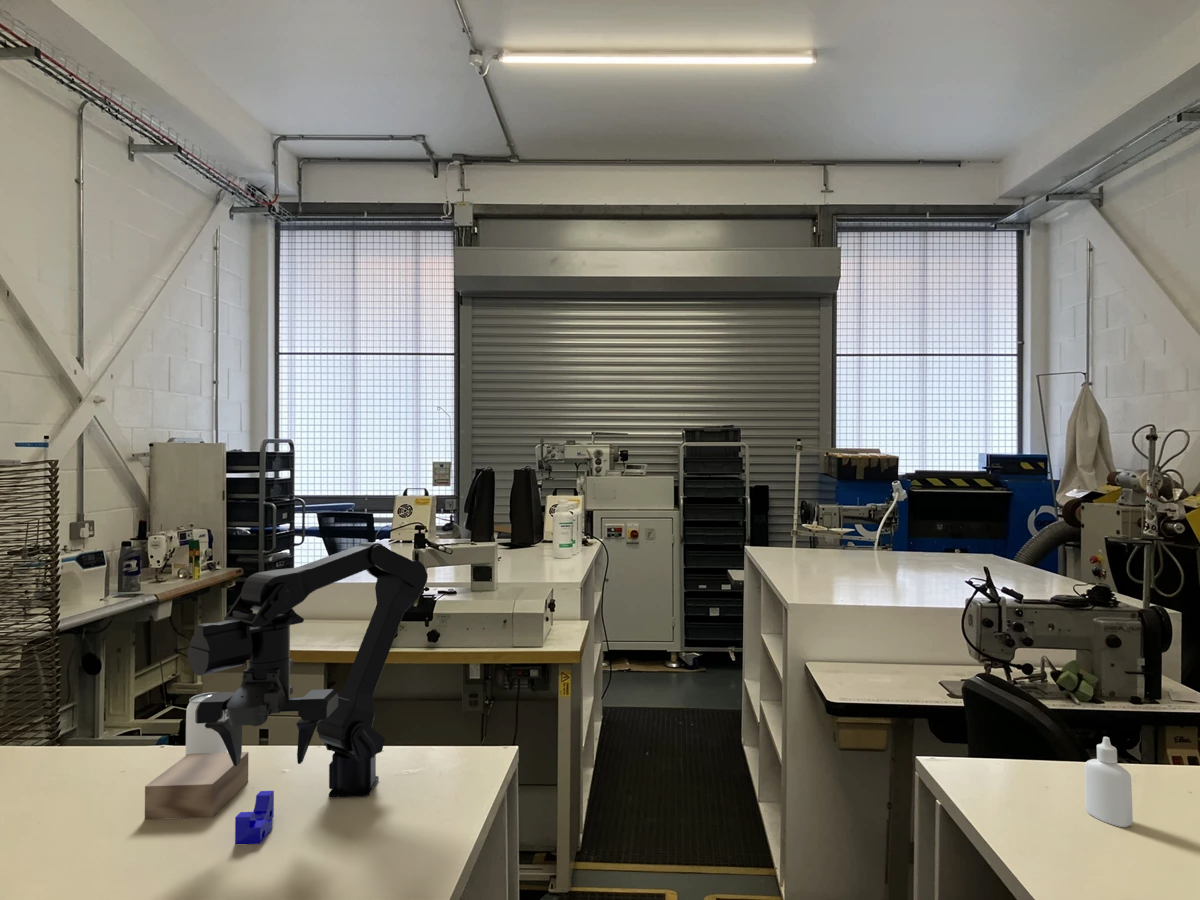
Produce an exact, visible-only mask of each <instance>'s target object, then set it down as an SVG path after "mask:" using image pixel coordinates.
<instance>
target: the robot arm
mask: <svg viewBox="0 0 1200 900" xmlns="http://www.w3.org/2000/svg"><path fill="white" fill-rule="evenodd" d="M363 571H366V572H367V573H368V574H370V576H372V577H374V578H376V582H375V587H374V588H375V597H376V598H375V599H376V606H375V608H374V610H373V613H372V616H371V618H370V621H369V624H368V626H367V629H366V630H365V634H364V636H363V638H362V641H361V643H360V646H359V649H358V651H357V654H356V657H355V659H354V661H353V664H352V666H351V669H350V671H349V673H348V676H347V679H346V682H345V683H344V686H343V687H342V689H340V690H339V691H338V692H336V690H335V689H334V688H329V689H323V688H322V689H311V690H309V692H307V693H306V694H305V695H304V696H302V697H291V695H292V694H293V693H294V687H293V685H291V668H292V667H293V666H294V659H292V658H291V626H294V625H298V624H303V623H304V622H305V618H304V617H302V616H301V615H299V614H298V613H296V611H295V610H294V609H293V608H295V607H296V606H298V605H300V604H301V603H303V602H304V601H305V600H306V599H307V598H308V596H309V595H310V594H312V593H314V592H315V591H317V590H319V589H322V588H324V587H327V586H329V585H331V584H334V583H338V582H339V581H341V580H345V579H347V578H349V577H351V576H354V575H356V574H359V573H361V572H363ZM428 575H429V574H428V572H427V570H426V567H425V565H424V564H423V563H422V562H420V561H418V560H413V559H412V560H411V559H409V558H408V557H405V556H403V555H401V554H400V553H397V552H395V551H392V550H391V549H389V548H388V547H386V546H385V545H383V544H382V543H379V542H371V541H370V542H368V541H364V542H363V541H362V542H360V543H358V544H357V545H355V546H353V547H350V548H347V549H344V550H342V551H339V552H336V553H334V554H331V555H328V556H326V557H323V558H320V559H316V560H314V561H312V562H309V563H307V564H303V565H301V566H295V567H291V568H289V567H288V568H280V569H279V568H278V569H271V570H267V571H259V572H255V573H253V574H251V575H249V576H248V577H247V578H245V581H244V583H243V585H242V588H241V591H240V594H239V595H238V597H237V598H236V599H235V601H234V602H233V604H232V606H231V608H230V609H229V610H228V612H227V614H226V615H225V616H224V620H223V621H219V622H212V623H211V622H210V623H209V622H205V623H200V624H197V625H196V626H195V628H196V629H195V630H196V631H195V634H194V635H193V636H192V637H191V640H190V642H189V646H187V659H188V663H189V666H190V669H191V671H192V673H193V674H195V675H196V676H198V677H199V676H204V675H208V674H213V673H216V672H221V671H224V670H229V669H231V668H236V667H240V666H243V665H245V663H247V668H246V669H244V670H243V675H242V680H241V685H240V687H239V688H237V689H236V691H221V692H220V691H219V692H217V691H215V692H216V693H214V694H213V695H211V696H209V697H208V698H206V699H205V700H203V701H202V702H200V703H199V705H198V706H197V708H196V711H195V722H196V723H197V724H198V723H206V724H205V727H206V728H211V729H213V730H215V731H216V732H218V733H219V735H220V736H221V738H222V740H223V741H224V744H225V746H226V748H227V753H229V755H230V758H231V760H232V762H233V765H234V766H237V765H239V764H240V759H241V752H242V750H243V746H242V745H243V726H252V727H259V726H262V725H263V724H265V723H266V722H267V720H268V718H269V716H271V715H272V714H281V712H283V713H284V712H285V713H286V712H297V715H298V716H299V720H298V721H297V722H296V727H297V729H298V736H297V752H296V759H297V761H296V762H297V764H298V765H301V764H302V763H303V762H304V760H305V757H306V755H307V754H306V753H307V751H308V749H309V745H310V743H311V740H312V739H313V735H314V733H315V731H316V732H317V735H318V738H319V739H320V740H321V742H323V743H324V746H325V748H326V751H332V752H334V753H333V754H332V755H331V758H332V761H331V762H330V763H329V764H328V788H329V790H330V791H329V793H328V798H331V799H332V798H355V797H363V798H364V797H368V796H370V795H371V793H372V792H373V789H374V788H375V786H376V785H377V783H378V781H379V778H380V777H379V776H378V775H377V772H376V771H377V770H376V769H377V767H376V766H377V765H376V764H377V761H376V759H377V757H376V755H378V754H380V753H381V752H383V748H384V745H385V741H386V738H385V737H384V736H383V735H381V734H380V733H379V732H378V731H376V730H375V729H374V728H373V724H374V720H375V716H376V713H375V703H374V694H375V690H376V688H377V685H378V683H379V681H380V677H381V675H382V672H383V669H384V667H385V664H386V662H387V659H388V656H389V654H390V651H391V648H392V646H393V643H394V640H395V637H396V634H397V632H398V630H399V626H400V624H401V622H402V619H403V616H404V615H405V612H407V610H408V609H410V608H411V606H413V604H415V603H416V602H417V601H418V599H419V598H420V596H421V595H422V592H423V590H424V588H425V587H426V584H427V581H428ZM251 611H253V612H251ZM254 612H256V613H254Z"/></svg>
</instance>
